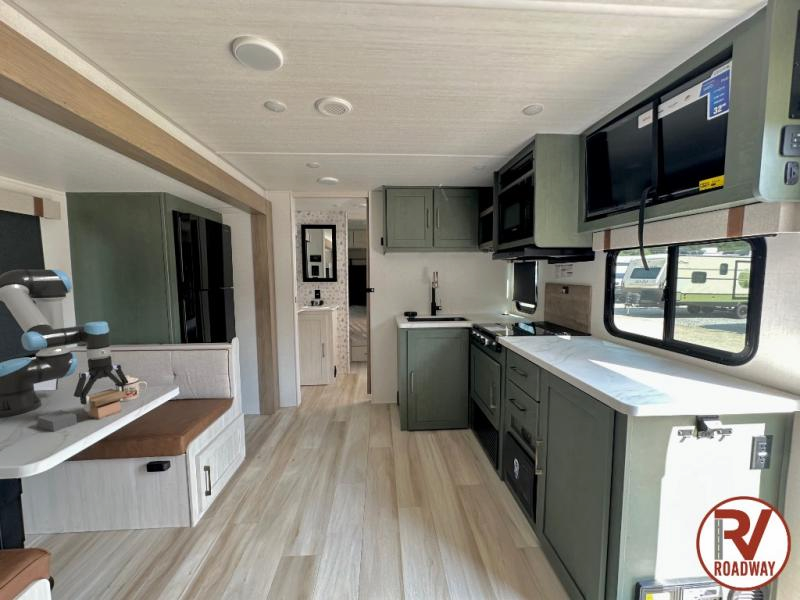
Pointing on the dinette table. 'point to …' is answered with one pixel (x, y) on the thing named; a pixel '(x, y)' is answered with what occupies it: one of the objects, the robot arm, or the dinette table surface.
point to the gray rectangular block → (57, 420)
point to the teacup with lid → (132, 388)
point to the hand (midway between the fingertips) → (104, 405)
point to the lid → (105, 397)
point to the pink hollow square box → (105, 410)
